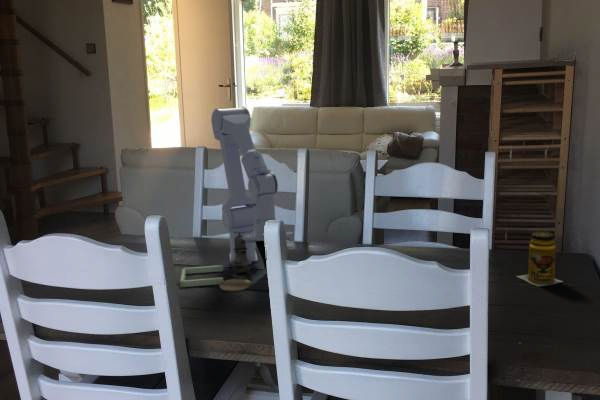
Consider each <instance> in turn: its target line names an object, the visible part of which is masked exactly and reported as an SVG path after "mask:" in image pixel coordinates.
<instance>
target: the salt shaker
mask: <svg viewBox="0 0 600 400" xmlns="http://www.w3.org/2000/svg"><path fill="white" fill-rule="evenodd" d="M240 237H243V236H241V235H240V232H239V235H238V236H236V237H235V239H234V241H235V248H234V251H235V260H234V261H232V262H231V263H230V262H229V263H230V266H231V268H232V270H233V271H234V273H233V274H232V275H231V277H232V279H249V278H250V277H252V275H253V274H252V272H250V270H251V267H252V264H253V262H252V261H251V260H248V259H247V256H246V250H247V248H246V244H245V240H243V239H242V238H240Z"/></svg>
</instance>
